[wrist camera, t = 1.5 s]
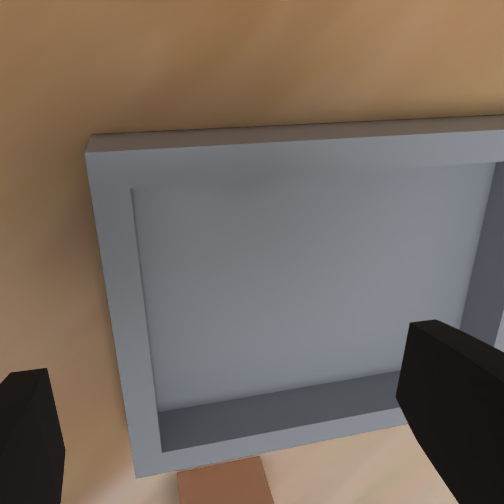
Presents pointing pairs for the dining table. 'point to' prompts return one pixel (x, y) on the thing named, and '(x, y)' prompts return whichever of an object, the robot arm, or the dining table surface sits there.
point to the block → (226, 484)
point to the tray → (289, 274)
